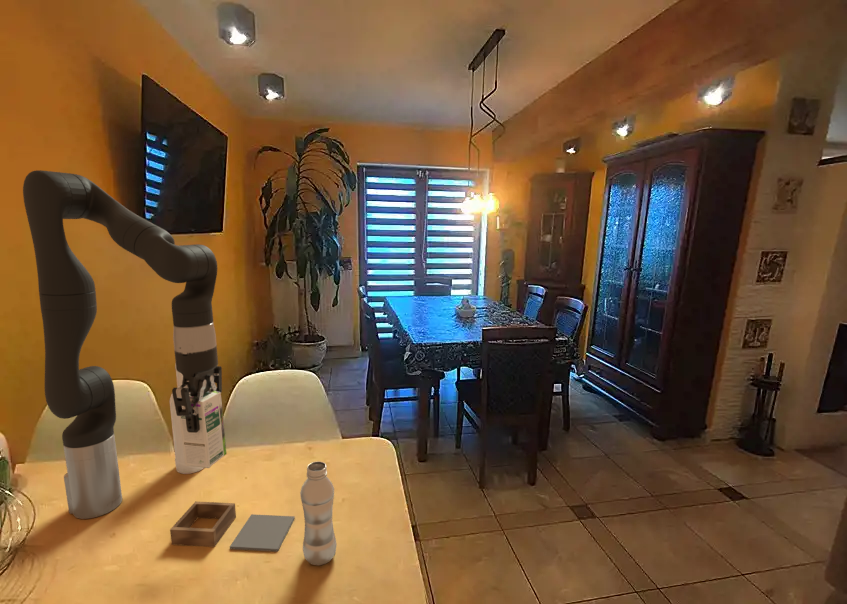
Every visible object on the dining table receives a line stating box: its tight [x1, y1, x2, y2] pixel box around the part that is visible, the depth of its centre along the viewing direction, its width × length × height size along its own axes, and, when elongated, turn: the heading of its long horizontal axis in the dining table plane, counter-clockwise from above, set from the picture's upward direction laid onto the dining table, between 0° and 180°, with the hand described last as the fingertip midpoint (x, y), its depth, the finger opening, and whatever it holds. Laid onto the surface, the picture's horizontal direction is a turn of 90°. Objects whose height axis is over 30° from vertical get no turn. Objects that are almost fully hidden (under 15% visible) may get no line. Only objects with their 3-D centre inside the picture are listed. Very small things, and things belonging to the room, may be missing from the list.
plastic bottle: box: [299, 460, 337, 566], centre depth 86 cm, size 6×7×20 cm
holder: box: [169, 501, 237, 548], centre depth 94 cm, size 9×9×4 cm
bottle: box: [169, 361, 205, 475], centre depth 116 cm, size 8×8×30 cm
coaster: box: [229, 513, 296, 553], centre depth 94 cm, size 10×10×1 cm
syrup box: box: [180, 391, 227, 469], centre depth 90 cm, size 6×6×14 cm
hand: (202, 423), depth 90 cm, fingers closed on syrup box, 6 cm apart
